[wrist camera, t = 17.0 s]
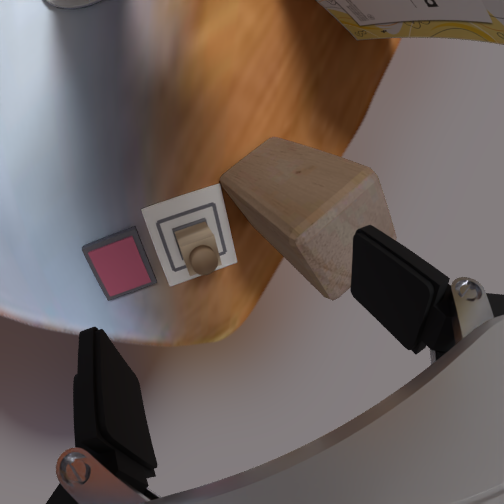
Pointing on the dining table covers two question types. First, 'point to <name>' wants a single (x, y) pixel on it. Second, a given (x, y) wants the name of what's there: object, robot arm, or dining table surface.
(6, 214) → the dining table surface
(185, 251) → the stamp
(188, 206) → the paper sheet
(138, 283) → the ink pad
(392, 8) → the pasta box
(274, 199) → the wooden block
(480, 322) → the robot arm
